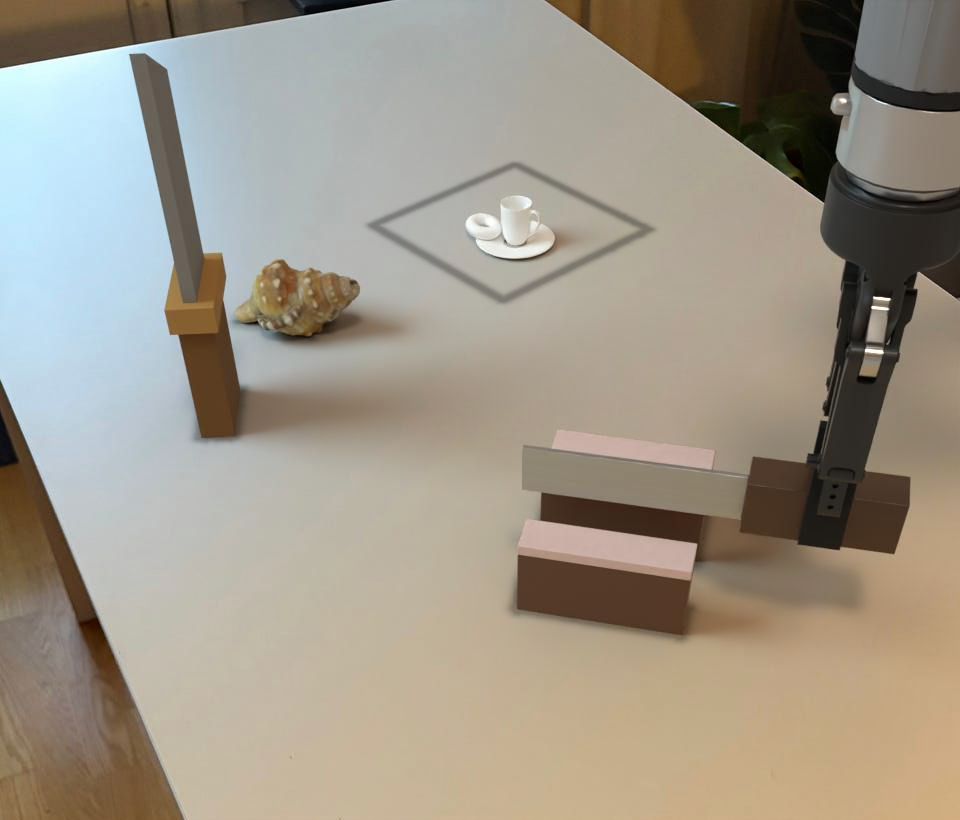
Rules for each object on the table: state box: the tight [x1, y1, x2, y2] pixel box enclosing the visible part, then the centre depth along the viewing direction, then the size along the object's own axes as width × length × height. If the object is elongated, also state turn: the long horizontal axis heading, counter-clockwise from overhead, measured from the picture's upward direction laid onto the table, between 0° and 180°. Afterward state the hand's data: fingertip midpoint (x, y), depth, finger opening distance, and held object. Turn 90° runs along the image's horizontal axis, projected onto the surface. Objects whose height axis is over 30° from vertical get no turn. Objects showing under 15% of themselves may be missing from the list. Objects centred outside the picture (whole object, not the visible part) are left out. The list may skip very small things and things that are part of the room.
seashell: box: [234, 258, 361, 337], centre depth 111 cm, size 9×8×10 cm
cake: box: [539, 429, 717, 563], centre depth 92 cm, size 12×6×6 cm, turn 76°
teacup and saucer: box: [465, 195, 556, 260], centre depth 121 cm, size 9×8×4 cm
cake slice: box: [516, 518, 697, 636], centre depth 86 cm, size 12×3×6 cm, turn 76°
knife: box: [128, 52, 241, 439], centre depth 93 cm, size 8×4×30 cm, turn 3°
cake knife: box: [521, 444, 912, 555], centre depth 80 cm, size 25×3×4 cm, turn 76°
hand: (820, 525), depth 80 cm, fingers closed on cake knife, 3 cm apart
